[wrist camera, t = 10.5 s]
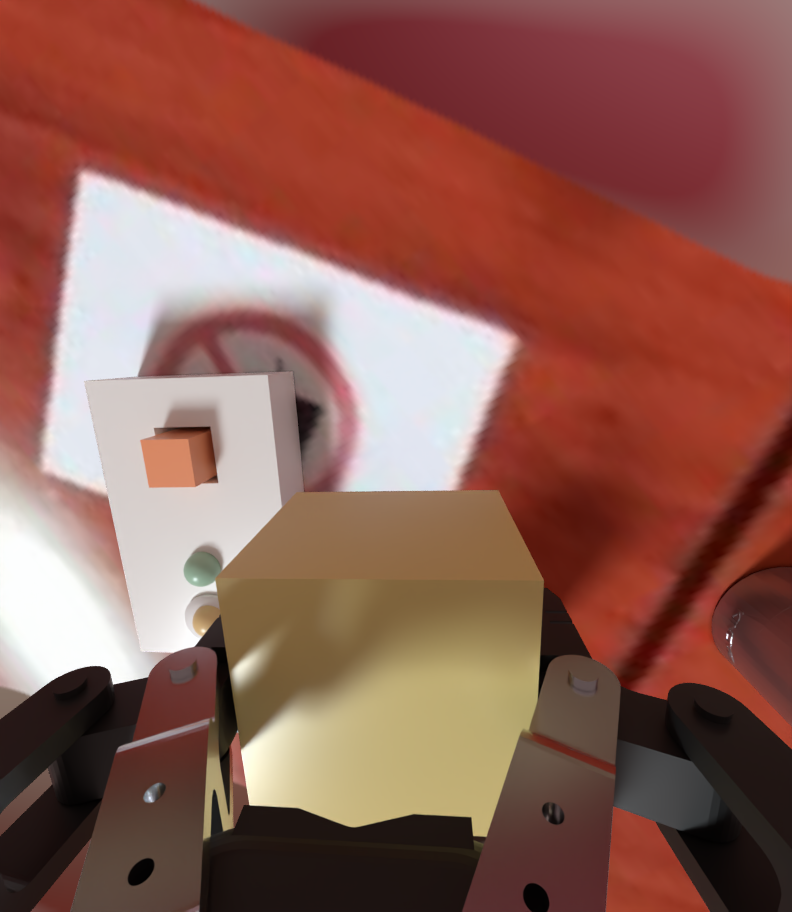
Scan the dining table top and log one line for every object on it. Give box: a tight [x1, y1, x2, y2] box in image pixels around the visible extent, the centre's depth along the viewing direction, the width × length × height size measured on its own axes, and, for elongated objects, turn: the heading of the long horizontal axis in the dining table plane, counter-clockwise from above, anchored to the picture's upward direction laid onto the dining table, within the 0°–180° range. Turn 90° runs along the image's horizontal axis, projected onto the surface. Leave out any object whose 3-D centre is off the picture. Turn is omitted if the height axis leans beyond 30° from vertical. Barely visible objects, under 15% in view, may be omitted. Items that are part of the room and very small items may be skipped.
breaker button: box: [140, 426, 217, 488], centre depth 28 cm, size 3×3×5 cm
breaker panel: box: [84, 371, 304, 652], centre depth 30 cm, size 12×20×6 cm, turn 2°
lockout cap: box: [215, 490, 544, 837], centre depth 11 cm, size 6×6×5 cm
